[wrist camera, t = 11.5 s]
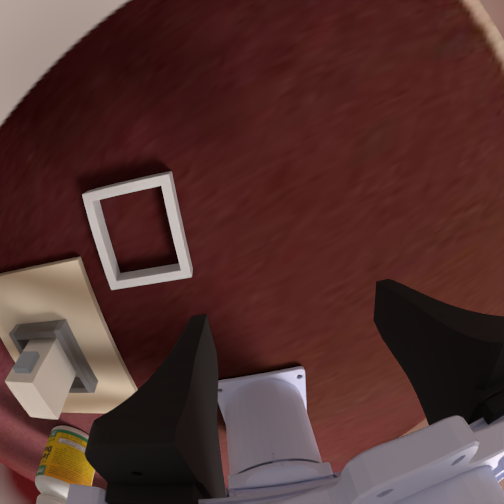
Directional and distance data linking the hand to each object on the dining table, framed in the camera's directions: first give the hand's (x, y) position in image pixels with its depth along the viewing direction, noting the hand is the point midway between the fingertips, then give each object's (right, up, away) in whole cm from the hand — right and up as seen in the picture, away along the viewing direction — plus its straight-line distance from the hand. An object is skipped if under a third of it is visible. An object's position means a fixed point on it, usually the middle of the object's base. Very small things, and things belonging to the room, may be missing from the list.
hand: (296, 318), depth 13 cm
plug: (-19, -6, +10) cm, 22 cm away
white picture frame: (-9, +4, +7) cm, 13 cm away
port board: (-19, -6, +11) cm, 22 cm away
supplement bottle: (-23, -19, +16) cm, 34 cm away
